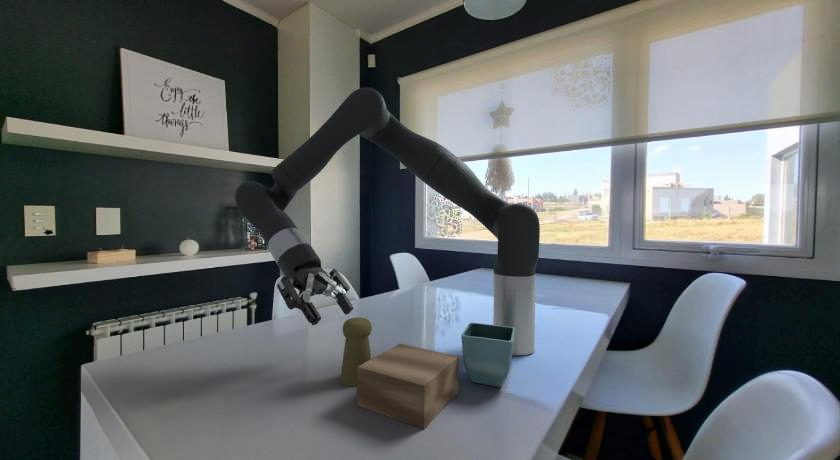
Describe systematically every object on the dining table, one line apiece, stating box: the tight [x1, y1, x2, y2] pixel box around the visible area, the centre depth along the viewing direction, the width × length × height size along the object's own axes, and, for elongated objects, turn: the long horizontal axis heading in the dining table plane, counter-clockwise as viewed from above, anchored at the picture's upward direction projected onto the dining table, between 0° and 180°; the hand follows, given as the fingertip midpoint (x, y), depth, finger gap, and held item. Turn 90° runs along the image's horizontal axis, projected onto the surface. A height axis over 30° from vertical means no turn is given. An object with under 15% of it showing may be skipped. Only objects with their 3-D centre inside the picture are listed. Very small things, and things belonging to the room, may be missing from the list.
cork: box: [339, 316, 373, 388], centre depth 60 cm, size 6×6×11 cm
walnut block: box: [356, 343, 460, 430], centre depth 53 cm, size 12×12×6 cm
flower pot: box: [460, 322, 515, 388], centre depth 60 cm, size 9×9×9 cm
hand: (334, 316), depth 63 cm, fingers open, 8 cm apart
